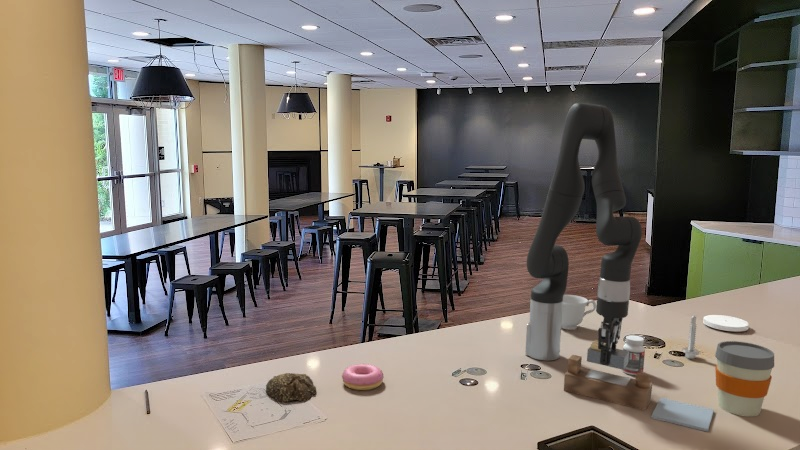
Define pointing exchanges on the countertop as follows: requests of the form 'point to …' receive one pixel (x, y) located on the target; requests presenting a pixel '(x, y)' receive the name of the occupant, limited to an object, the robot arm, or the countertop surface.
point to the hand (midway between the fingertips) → (607, 360)
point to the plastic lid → (725, 323)
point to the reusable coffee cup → (743, 376)
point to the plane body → (608, 385)
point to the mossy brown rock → (290, 387)
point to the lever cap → (616, 357)
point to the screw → (691, 341)
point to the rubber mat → (683, 414)
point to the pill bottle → (634, 354)
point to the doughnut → (362, 377)
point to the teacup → (574, 311)
